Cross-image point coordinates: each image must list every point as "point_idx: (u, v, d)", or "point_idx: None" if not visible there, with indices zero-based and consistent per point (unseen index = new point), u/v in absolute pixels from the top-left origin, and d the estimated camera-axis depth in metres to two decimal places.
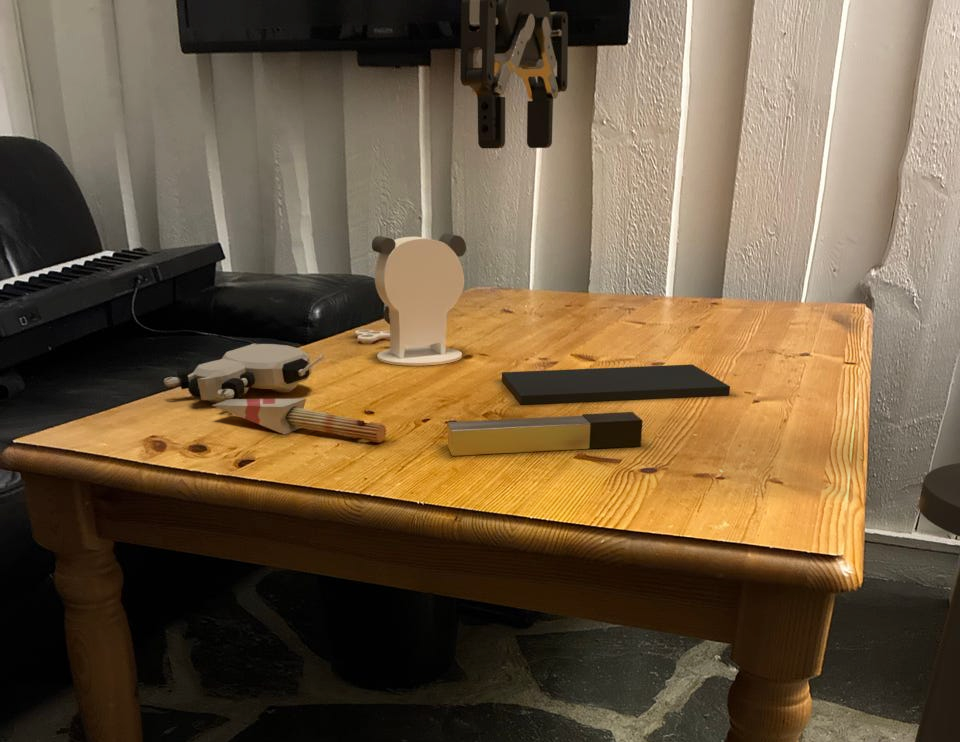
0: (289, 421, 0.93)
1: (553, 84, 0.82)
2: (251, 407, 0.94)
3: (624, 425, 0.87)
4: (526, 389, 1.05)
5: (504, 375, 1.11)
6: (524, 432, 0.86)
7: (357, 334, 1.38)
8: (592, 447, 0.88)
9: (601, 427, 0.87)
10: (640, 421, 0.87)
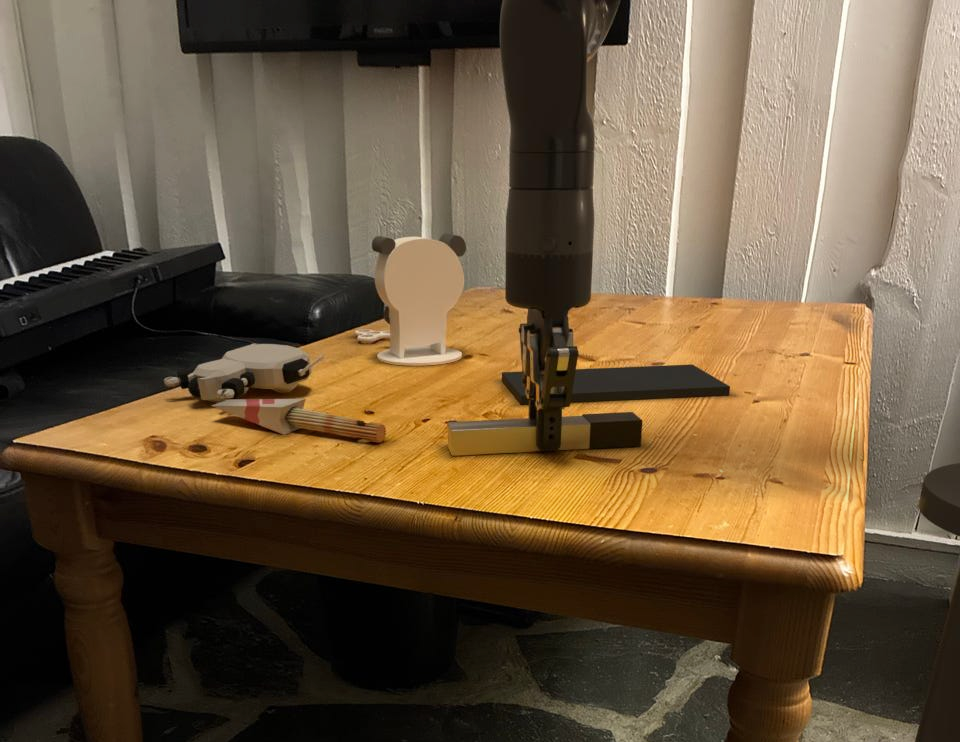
0: (289, 421, 0.93)
1: None
2: (250, 407, 0.94)
3: (624, 425, 0.87)
4: None
5: (504, 375, 1.11)
6: (524, 432, 0.86)
7: (357, 334, 1.38)
8: (592, 447, 0.88)
9: (601, 427, 0.87)
10: (640, 421, 0.87)
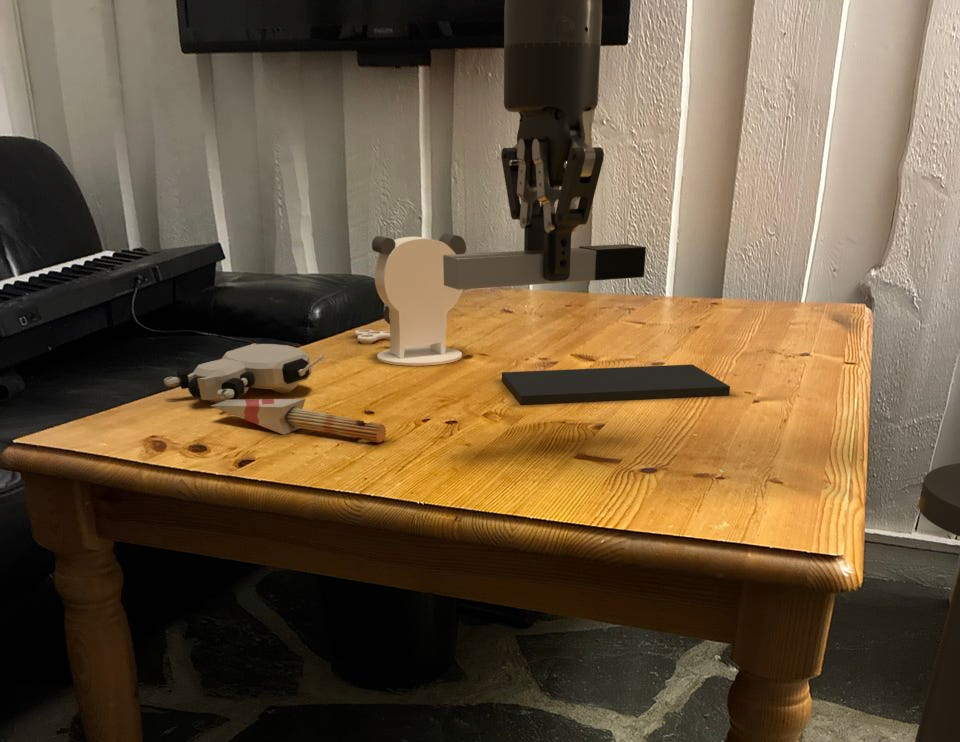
0: (288, 421, 0.93)
1: None
2: (250, 407, 0.94)
3: (628, 253, 0.81)
4: (526, 389, 1.05)
5: (504, 375, 1.11)
6: (531, 261, 0.78)
7: (357, 334, 1.38)
8: (598, 278, 0.81)
9: (607, 255, 0.81)
10: (644, 248, 0.82)
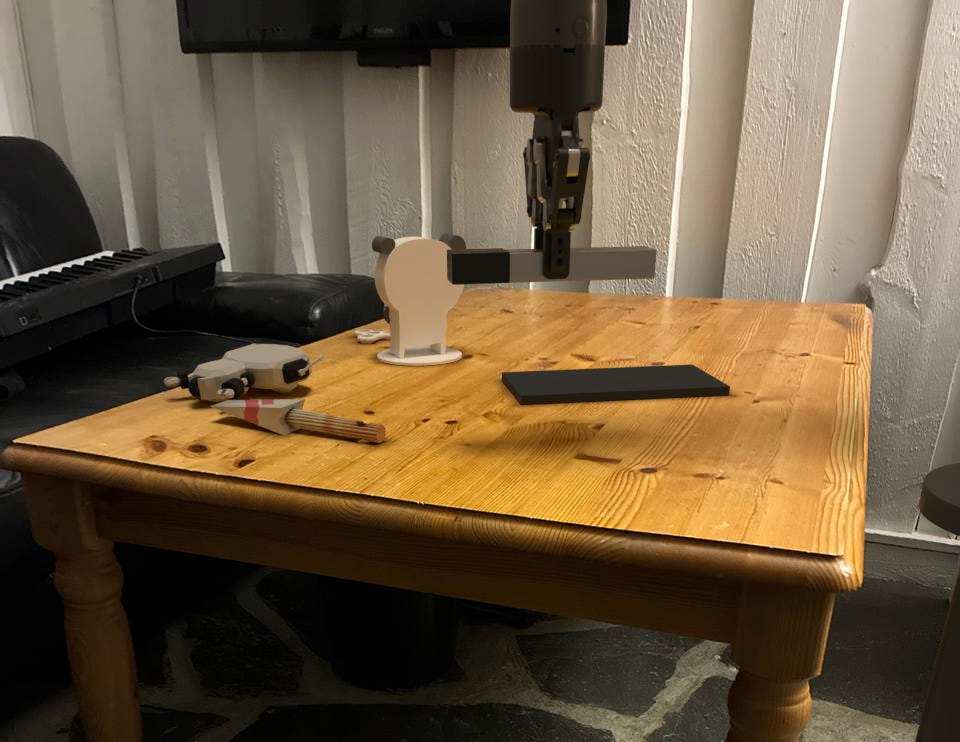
0: (288, 422, 0.93)
1: (544, 215, 0.78)
2: (250, 408, 0.93)
3: None
4: (526, 389, 1.05)
5: (504, 375, 1.11)
6: None
7: (357, 334, 1.38)
8: None
9: None
10: (449, 250, 0.81)
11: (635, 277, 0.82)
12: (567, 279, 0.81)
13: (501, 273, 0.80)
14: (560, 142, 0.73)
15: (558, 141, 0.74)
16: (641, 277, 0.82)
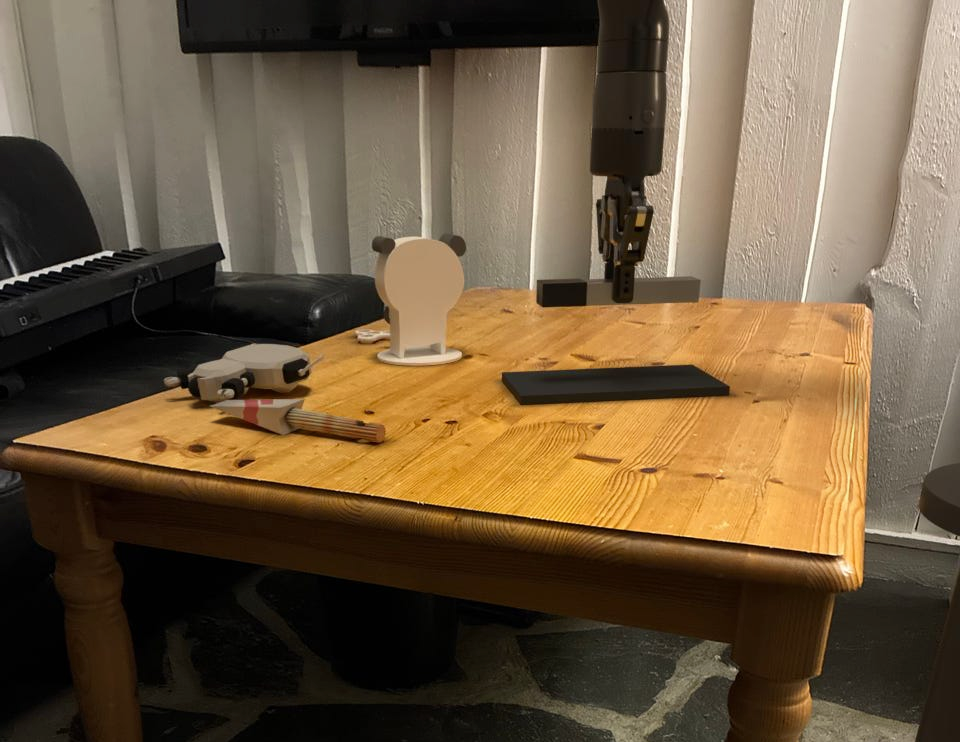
0: (288, 422, 0.93)
1: (615, 254, 1.01)
2: (249, 408, 0.93)
3: None
4: (526, 389, 1.05)
5: (504, 375, 1.11)
6: None
7: (357, 334, 1.38)
8: None
9: None
10: None
11: (683, 301, 1.05)
12: (631, 303, 1.04)
13: (580, 298, 1.03)
14: (630, 200, 0.96)
15: (628, 199, 0.96)
16: (688, 301, 1.05)
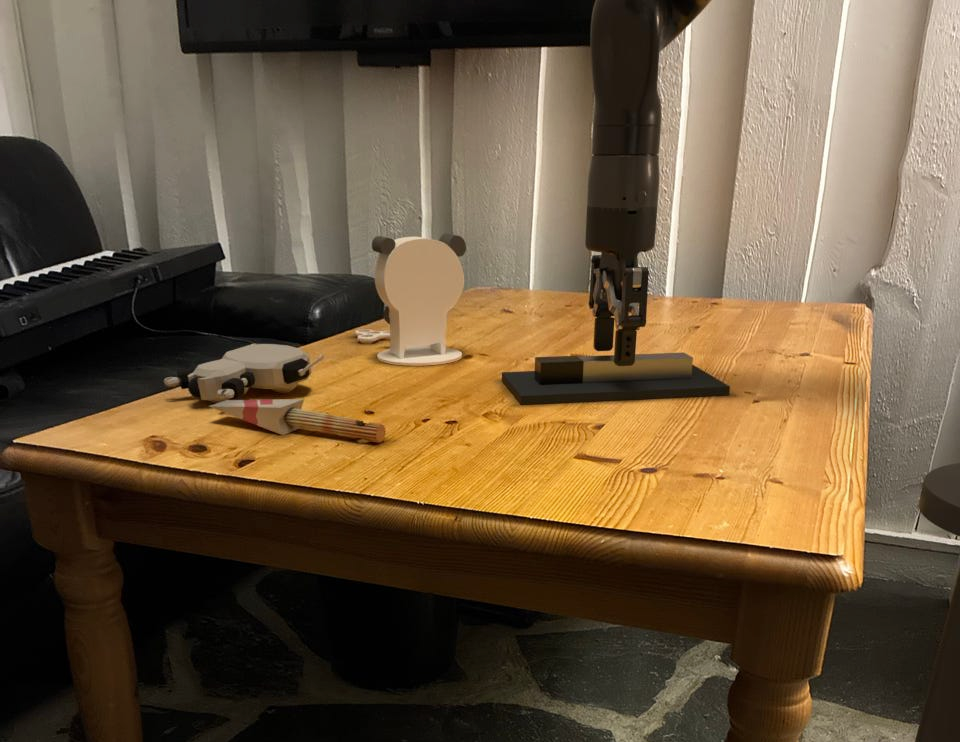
0: (287, 422, 0.93)
1: (616, 319, 1.01)
2: (249, 408, 0.93)
3: None
4: (526, 389, 1.05)
5: (504, 375, 1.11)
6: None
7: (357, 334, 1.38)
8: None
9: None
10: (536, 358, 1.08)
11: (676, 377, 1.09)
12: (625, 379, 1.08)
13: (576, 376, 1.07)
14: None
15: (623, 270, 0.99)
16: (681, 377, 1.09)
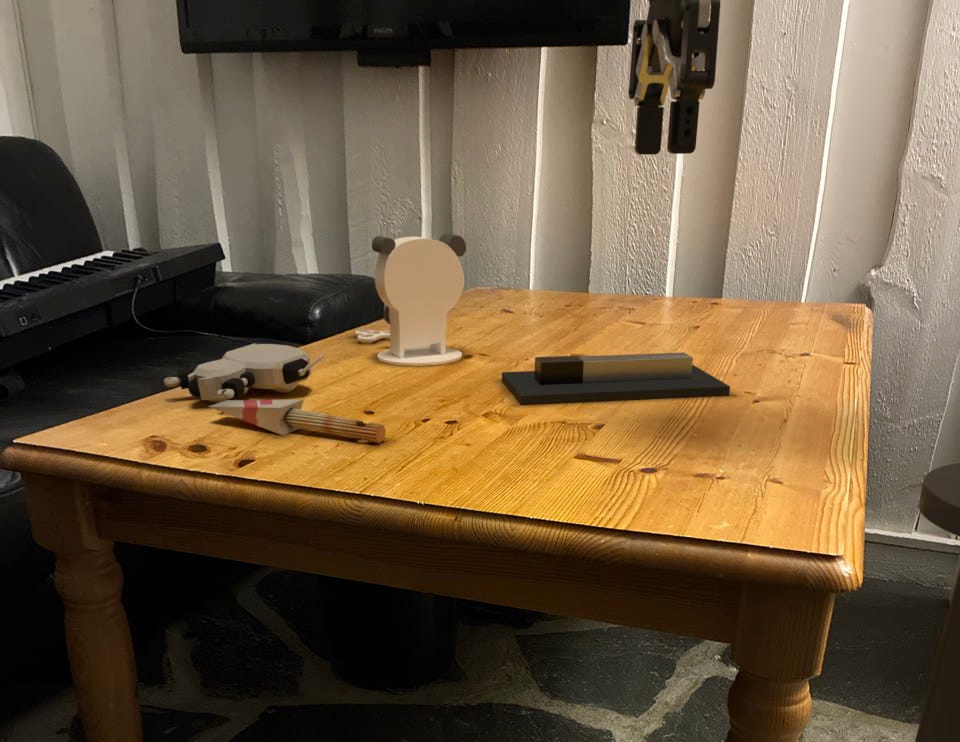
0: (287, 422, 0.93)
1: (672, 83, 0.74)
2: (248, 408, 0.93)
3: None
4: (526, 389, 1.05)
5: (504, 375, 1.11)
6: None
7: (357, 334, 1.38)
8: None
9: None
10: (536, 358, 1.08)
11: (676, 377, 1.09)
12: (625, 379, 1.08)
13: (576, 376, 1.07)
14: None
15: (683, 9, 0.72)
16: (681, 377, 1.09)
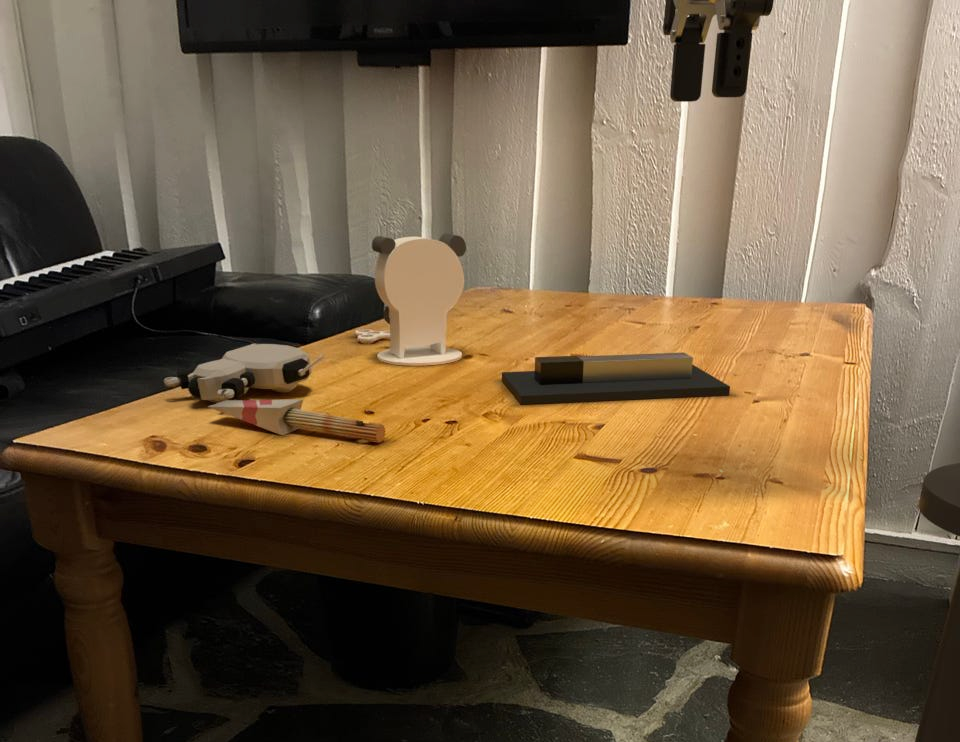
0: (287, 422, 0.93)
1: (720, 10, 0.62)
2: (248, 408, 0.93)
3: None
4: (526, 389, 1.05)
5: (504, 375, 1.11)
6: None
7: (357, 334, 1.38)
8: None
9: None
10: (536, 358, 1.08)
11: (676, 377, 1.09)
12: (625, 379, 1.08)
13: (576, 376, 1.07)
14: None
15: None
16: (681, 377, 1.09)
